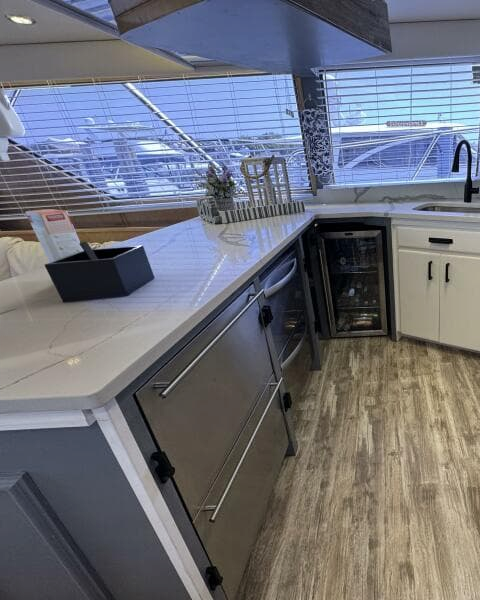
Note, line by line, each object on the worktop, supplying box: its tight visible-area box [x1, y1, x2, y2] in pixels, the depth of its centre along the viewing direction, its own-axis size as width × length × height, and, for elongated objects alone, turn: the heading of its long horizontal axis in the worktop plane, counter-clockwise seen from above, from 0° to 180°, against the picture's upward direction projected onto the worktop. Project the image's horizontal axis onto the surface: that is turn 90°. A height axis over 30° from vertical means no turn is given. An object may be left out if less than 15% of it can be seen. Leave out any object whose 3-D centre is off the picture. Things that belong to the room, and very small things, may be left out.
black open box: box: [44, 245, 156, 304], centre depth 87 cm, size 15×15×10 cm
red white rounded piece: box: [79, 241, 98, 260], centre depth 86 cm, size 10×6×12 cm, turn 41°
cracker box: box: [25, 208, 84, 263], centre depth 92 cm, size 14×6×21 cm, turn 58°
